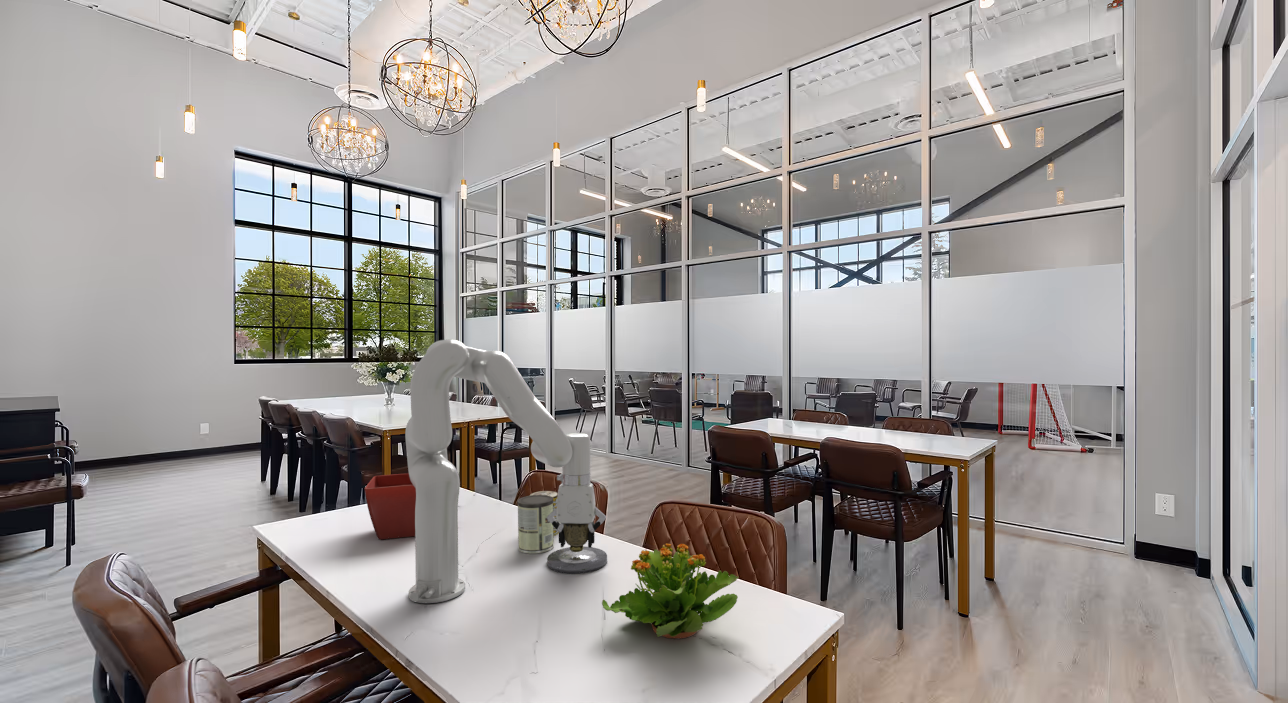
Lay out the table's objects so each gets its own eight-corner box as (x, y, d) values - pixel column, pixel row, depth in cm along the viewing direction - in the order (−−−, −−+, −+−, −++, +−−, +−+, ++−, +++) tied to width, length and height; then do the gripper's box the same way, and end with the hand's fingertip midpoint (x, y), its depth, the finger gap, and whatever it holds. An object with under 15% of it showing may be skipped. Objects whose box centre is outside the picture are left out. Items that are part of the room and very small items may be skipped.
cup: (588, 555, 148) (588, 525, 148) (560, 555, 148) (560, 525, 148) (591, 546, 155) (591, 517, 155) (565, 545, 156) (565, 516, 156)
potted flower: (669, 591, 133) (668, 517, 133) (760, 621, 118) (759, 538, 118) (595, 633, 113) (594, 546, 113) (692, 675, 98) (691, 575, 98)
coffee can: (524, 541, 169) (523, 494, 169) (557, 542, 168) (557, 494, 168) (512, 553, 159) (512, 503, 159) (548, 554, 158) (548, 504, 158)
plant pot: (374, 526, 185) (373, 475, 185) (436, 520, 191) (435, 470, 191) (364, 545, 167) (363, 488, 167) (432, 538, 172) (432, 483, 172)
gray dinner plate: (603, 574, 143) (603, 567, 143) (541, 573, 144) (541, 566, 144) (610, 551, 159) (610, 545, 159) (554, 551, 160) (554, 545, 160)
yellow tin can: (525, 535, 174) (524, 497, 174) (538, 527, 183) (538, 490, 183) (551, 538, 171) (551, 499, 171) (564, 529, 180) (563, 492, 180)
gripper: (541, 482, 148) (541, 550, 148) (606, 483, 148) (607, 551, 147) (547, 476, 156) (547, 540, 156) (609, 476, 155) (610, 541, 155)
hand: (576, 545), depth 152 cm, fingers closed on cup, 6 cm apart
